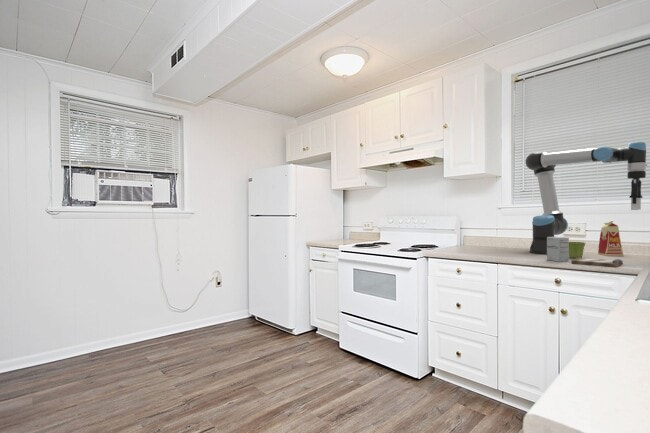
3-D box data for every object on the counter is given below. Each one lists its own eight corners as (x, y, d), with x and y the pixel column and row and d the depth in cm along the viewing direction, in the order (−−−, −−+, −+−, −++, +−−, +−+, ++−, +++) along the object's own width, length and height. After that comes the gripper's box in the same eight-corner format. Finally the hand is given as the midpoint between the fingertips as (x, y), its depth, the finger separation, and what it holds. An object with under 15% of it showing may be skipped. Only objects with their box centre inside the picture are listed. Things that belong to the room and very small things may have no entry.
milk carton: (623, 255, 206) (623, 221, 205) (605, 255, 208) (605, 221, 207) (614, 253, 215) (614, 220, 214) (596, 253, 216) (596, 220, 216)
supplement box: (546, 260, 195) (546, 236, 195) (556, 259, 197) (556, 236, 197) (558, 261, 188) (558, 237, 188) (569, 261, 190) (569, 237, 190)
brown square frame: (571, 263, 182) (571, 258, 182) (579, 260, 192) (579, 255, 192) (616, 267, 168) (616, 262, 168) (622, 263, 178) (622, 258, 178)
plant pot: (578, 256, 207) (578, 241, 206) (590, 258, 197) (590, 242, 197) (561, 256, 207) (561, 241, 206) (573, 259, 197) (573, 243, 197)
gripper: (643, 169, 185) (642, 210, 186) (647, 171, 202) (647, 209, 203) (624, 170, 190) (623, 210, 191) (630, 172, 208) (629, 209, 208)
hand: (635, 209), depth 197 cm, fingers open, 13 cm apart
